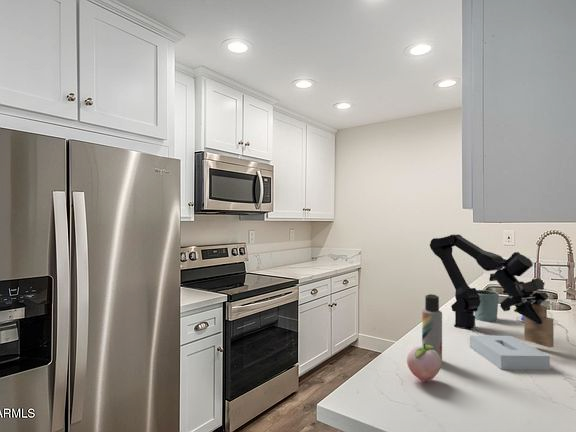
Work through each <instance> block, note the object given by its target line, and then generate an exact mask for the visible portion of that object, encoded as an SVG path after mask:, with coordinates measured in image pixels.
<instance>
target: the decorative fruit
mask: <svg viewBox="0 0 576 432" xmlns="http://www.w3.org/2000/svg"><path fill="white" fill-rule="evenodd" d="M433 349H435V348H434V347H433V346H431V345H425V344H424V346H423V347H422V346H416V347H413V348H412V349H411V350H410V351H409V352H408V353H407V356H406V357H407V358H406V364H407V367H408V369H409V371H410V372H411V373H412V375H413V376H414V377H416V379H419V380H420V381H423V382H425V383H426V382H429V381H431V380H433V379H434V378H435V377H436V376H437V375H438V373H439V372H440V370H441V367H442V362H441V358H440V356H439V354H438V353H437V352H436V351H435V350H433Z"/></svg>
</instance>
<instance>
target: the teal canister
mask: <svg viewBox="0 0 576 432" xmlns="http://www.w3.org/2000/svg"><path fill="white" fill-rule="evenodd" d="M476 290H477V293H478V295H479V296H480V297H479V298H480V301H481V303H480V305H479V307H478V309H477V311H476V312H474V316H475V320H477V321H481V322H487V323H488V322H489V323H496V322H497V321H498V310H499V308H498V307H499V295H500V293H499V292H498V291H494V290H486V289H476Z"/></svg>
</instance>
